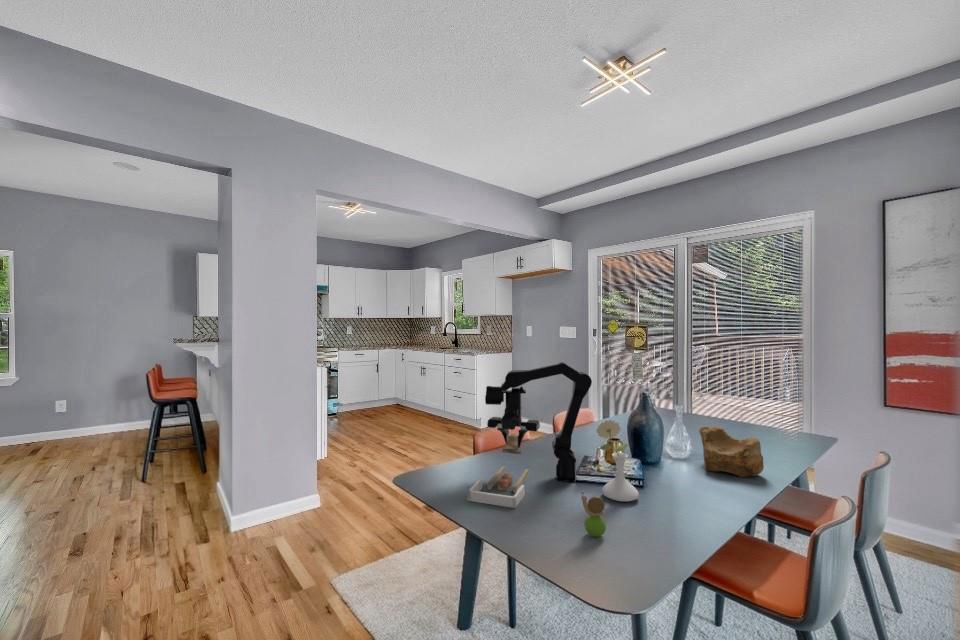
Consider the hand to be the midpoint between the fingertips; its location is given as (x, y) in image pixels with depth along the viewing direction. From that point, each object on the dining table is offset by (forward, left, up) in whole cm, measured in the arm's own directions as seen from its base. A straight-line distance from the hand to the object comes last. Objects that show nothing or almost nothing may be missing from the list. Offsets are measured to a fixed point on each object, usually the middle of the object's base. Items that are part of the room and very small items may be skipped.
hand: (513, 447), depth 154 cm
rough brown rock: (-74, -33, -11) cm, 82 cm away
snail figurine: (-32, +34, -11) cm, 48 cm away
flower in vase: (-37, +6, -11) cm, 39 cm away
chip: (0, +12, -11) cm, 16 cm away
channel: (0, +5, -11) cm, 12 cm away
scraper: (0, 0, -2) cm, 2 cm away
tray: (0, +20, -11) cm, 23 cm away
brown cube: (0, +8, -11) cm, 14 cm away
